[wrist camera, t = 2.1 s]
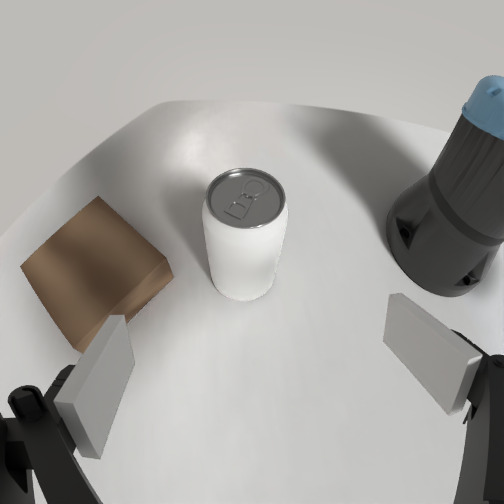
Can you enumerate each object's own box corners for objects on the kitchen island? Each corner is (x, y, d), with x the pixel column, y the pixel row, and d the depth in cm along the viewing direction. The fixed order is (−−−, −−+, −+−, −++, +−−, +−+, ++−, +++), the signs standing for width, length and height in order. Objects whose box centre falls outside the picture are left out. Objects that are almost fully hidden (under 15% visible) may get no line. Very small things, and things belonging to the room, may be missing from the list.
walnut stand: (109, 217, 35) (98, 195, 32) (173, 277, 32) (166, 257, 28) (37, 282, 31) (20, 266, 27) (91, 358, 27) (73, 347, 23)
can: (285, 263, 33) (306, 185, 23) (254, 314, 30) (264, 249, 20) (232, 236, 35) (231, 153, 24) (198, 283, 32) (180, 207, 21)
